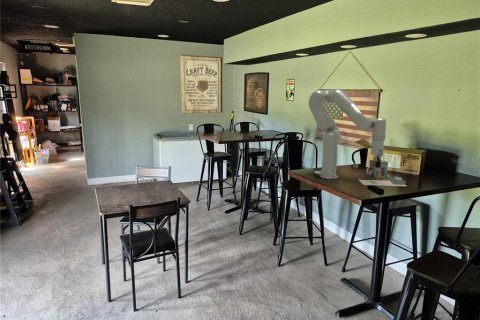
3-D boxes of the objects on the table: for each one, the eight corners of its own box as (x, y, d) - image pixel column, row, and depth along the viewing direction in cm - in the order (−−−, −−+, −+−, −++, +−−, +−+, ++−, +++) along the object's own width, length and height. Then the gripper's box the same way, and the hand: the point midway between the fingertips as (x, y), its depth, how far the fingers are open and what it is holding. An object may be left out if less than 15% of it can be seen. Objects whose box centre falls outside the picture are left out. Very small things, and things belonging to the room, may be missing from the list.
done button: (395, 182, 204) (395, 178, 204) (392, 180, 209) (393, 177, 208) (402, 182, 204) (403, 179, 203) (400, 180, 208) (400, 177, 208)
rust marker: (374, 169, 206) (375, 155, 205) (373, 167, 210) (374, 154, 208) (380, 169, 206) (381, 155, 204) (378, 168, 209) (379, 154, 208)
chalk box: (386, 178, 221) (388, 157, 218) (373, 178, 221) (375, 157, 219) (381, 175, 230) (383, 154, 227) (368, 175, 231) (370, 154, 228)
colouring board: (363, 185, 203) (363, 181, 202) (358, 181, 215) (358, 176, 214) (406, 187, 200) (407, 182, 200) (399, 182, 212) (400, 178, 212)
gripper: (368, 136, 213) (367, 164, 216) (376, 139, 197) (374, 169, 200) (380, 136, 212) (378, 164, 215) (389, 139, 196) (387, 169, 199)
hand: (376, 166), depth 208 cm, fingers closed on rust marker, 3 cm apart
